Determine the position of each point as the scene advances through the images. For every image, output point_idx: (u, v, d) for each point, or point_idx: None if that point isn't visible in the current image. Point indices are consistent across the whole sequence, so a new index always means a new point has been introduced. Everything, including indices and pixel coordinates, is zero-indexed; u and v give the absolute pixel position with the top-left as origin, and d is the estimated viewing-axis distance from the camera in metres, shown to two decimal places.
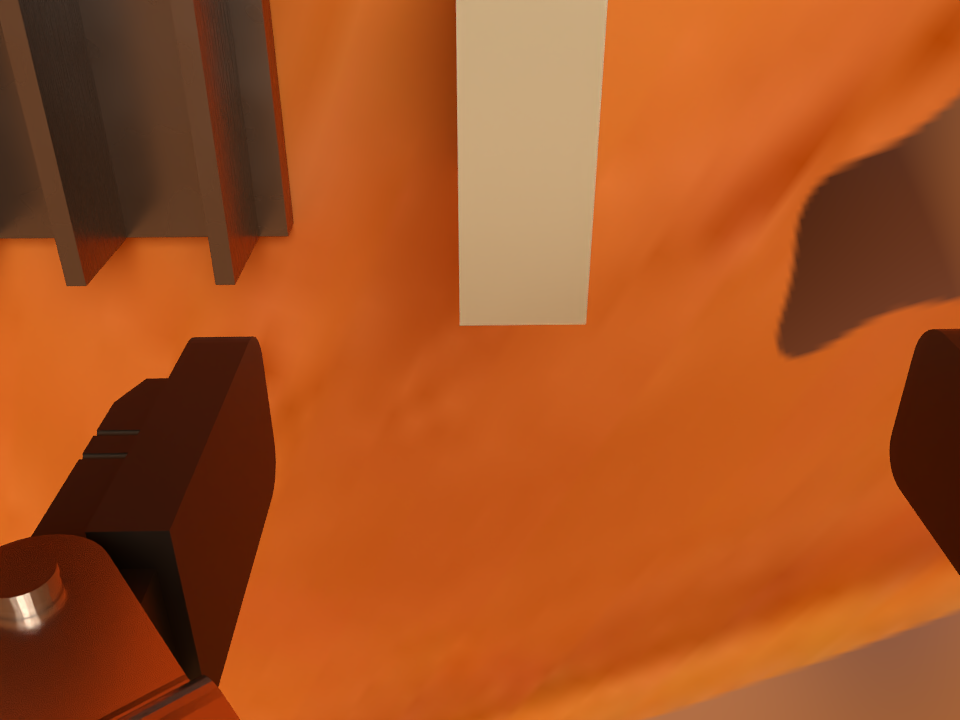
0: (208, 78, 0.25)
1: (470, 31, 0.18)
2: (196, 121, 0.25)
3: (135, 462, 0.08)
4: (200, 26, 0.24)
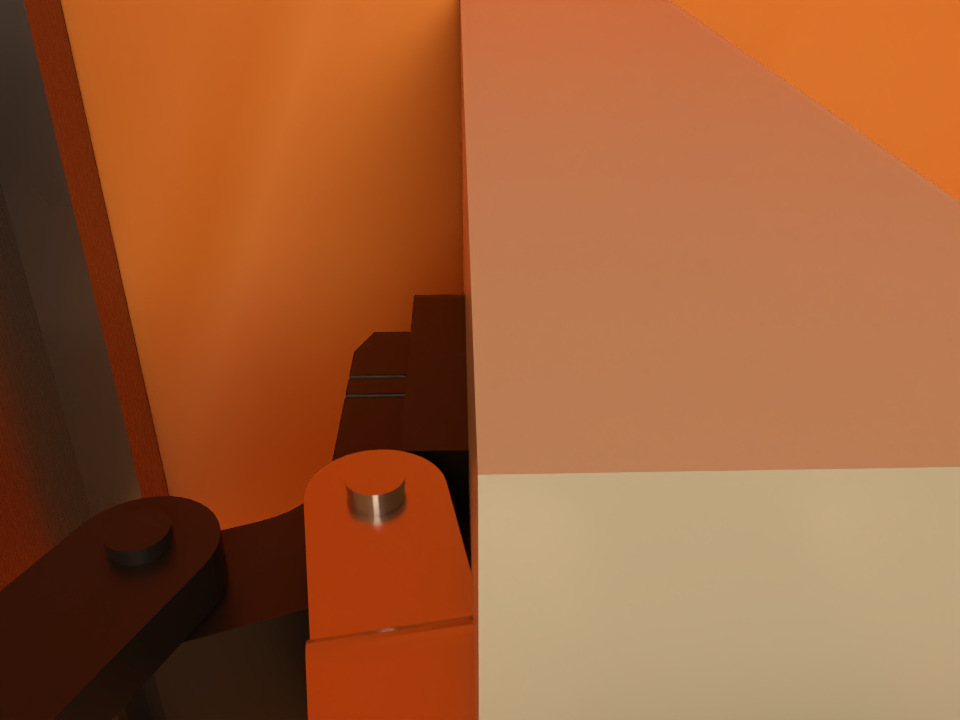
0: None
1: None
2: None
3: (416, 396, 0.09)
4: None
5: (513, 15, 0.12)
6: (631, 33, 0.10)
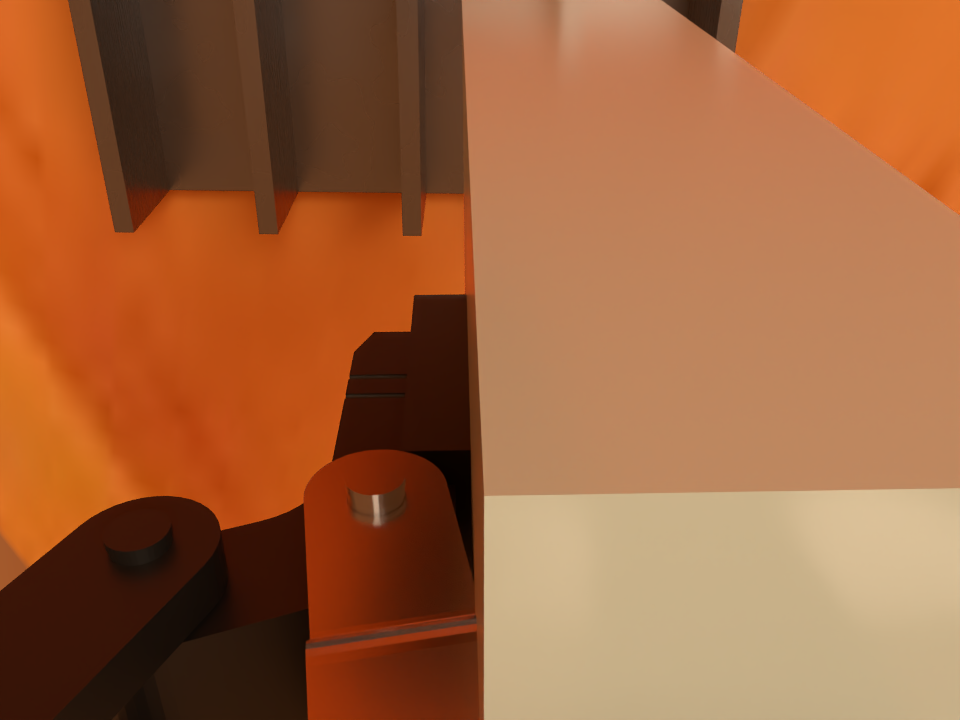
0: None
1: None
2: None
3: (416, 396, 0.09)
4: None
5: (515, 22, 0.12)
6: (632, 41, 0.11)
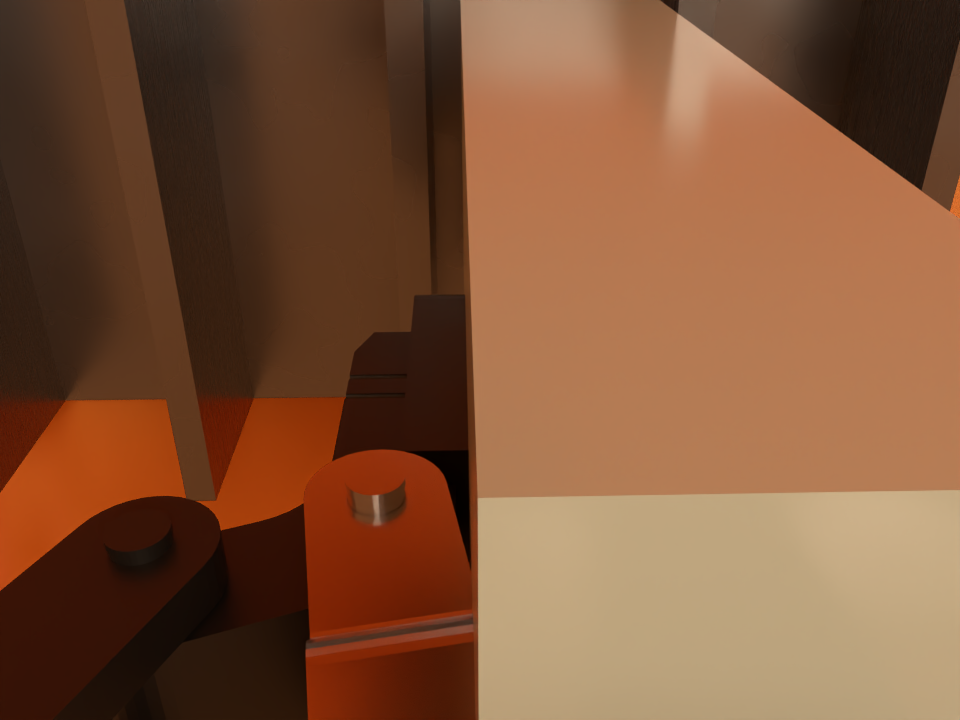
0: None
1: None
2: None
3: (416, 396, 0.09)
4: (959, 127, 0.15)
5: (513, 23, 0.12)
6: (631, 42, 0.11)
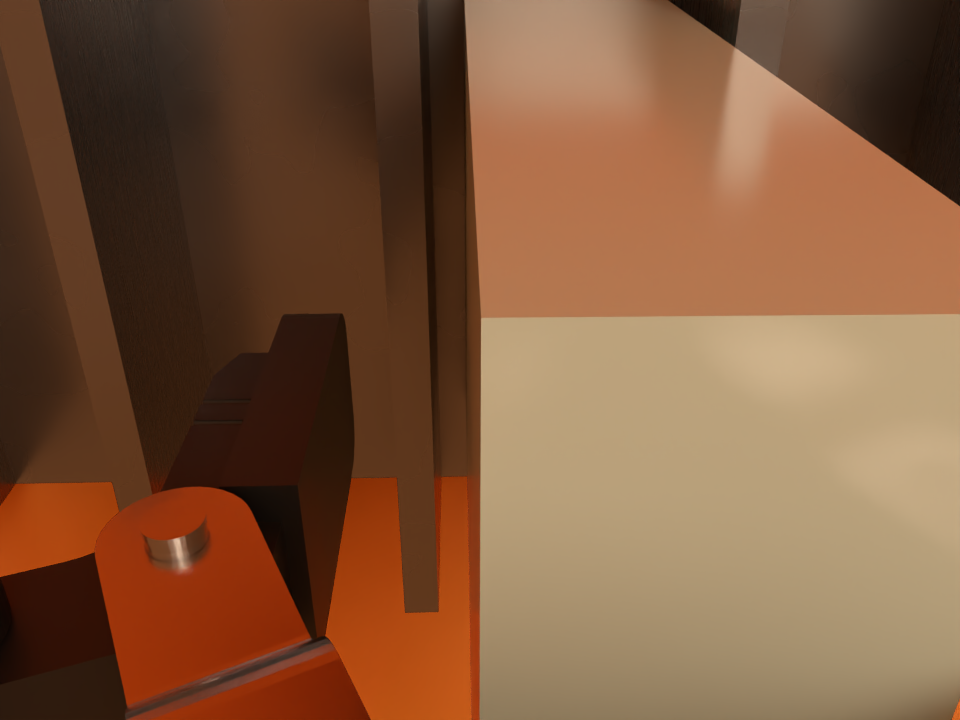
0: None
1: (529, 539, 0.05)
2: None
3: (254, 425, 0.09)
4: None
5: (512, 4, 0.13)
6: (618, 20, 0.12)
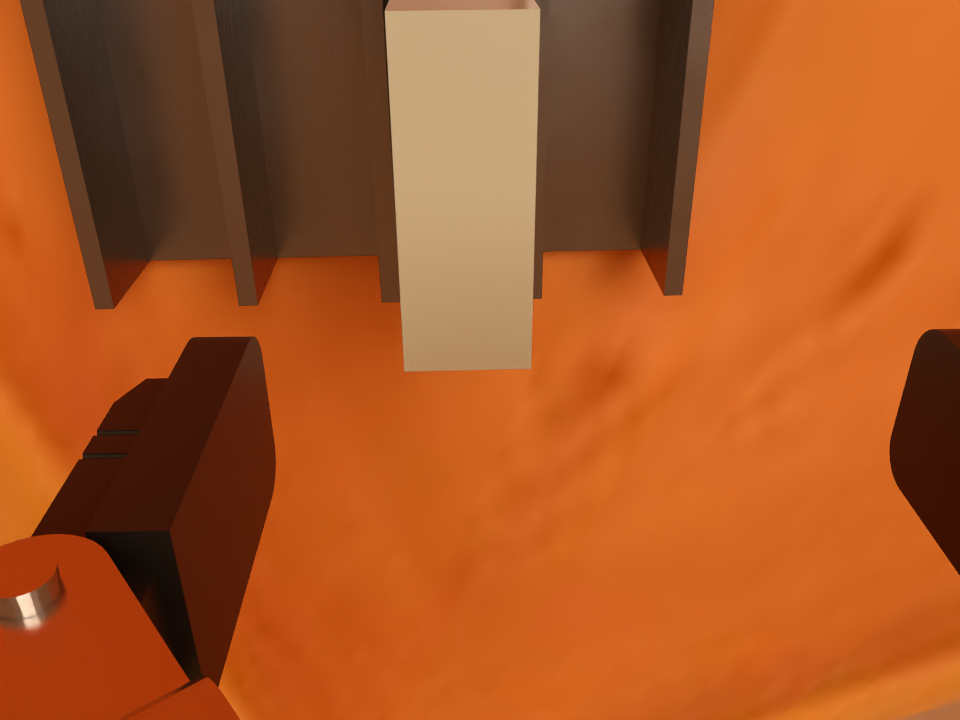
0: None
1: (402, 83, 0.18)
2: (685, 140, 0.27)
3: (135, 462, 0.08)
4: None
5: None
6: None
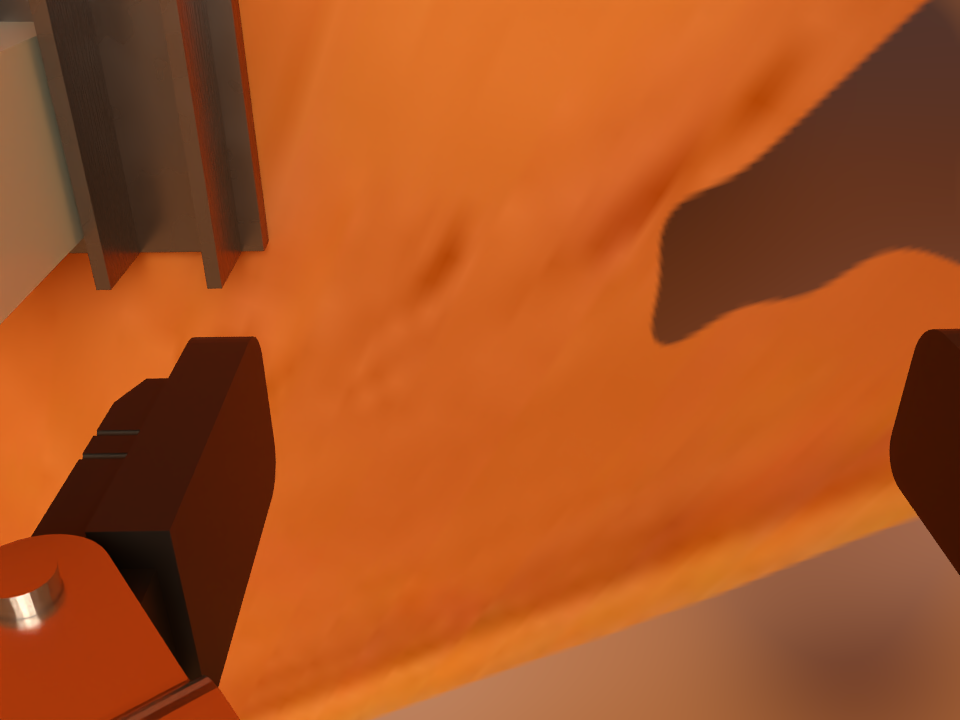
0: (201, 138, 0.35)
1: None
2: (192, 169, 0.35)
3: (134, 462, 0.08)
4: (195, 102, 0.34)
5: None
6: (4, 37, 0.33)
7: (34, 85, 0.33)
